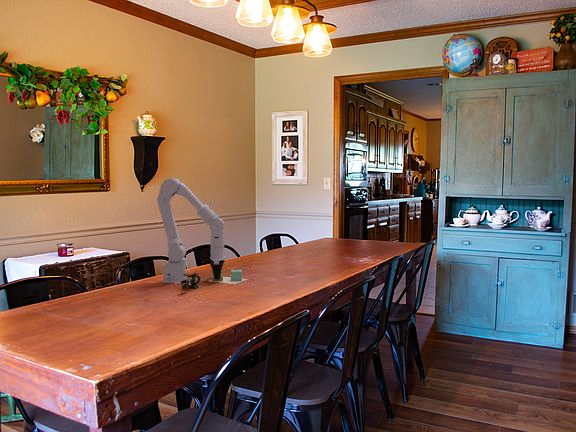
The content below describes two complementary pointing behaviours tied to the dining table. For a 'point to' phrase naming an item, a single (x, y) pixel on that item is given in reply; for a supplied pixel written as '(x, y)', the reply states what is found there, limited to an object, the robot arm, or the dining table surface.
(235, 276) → the teal block
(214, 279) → the maple block
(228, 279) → the plate
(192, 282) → the toy
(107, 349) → the dining table surface
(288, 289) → the dining table surface
